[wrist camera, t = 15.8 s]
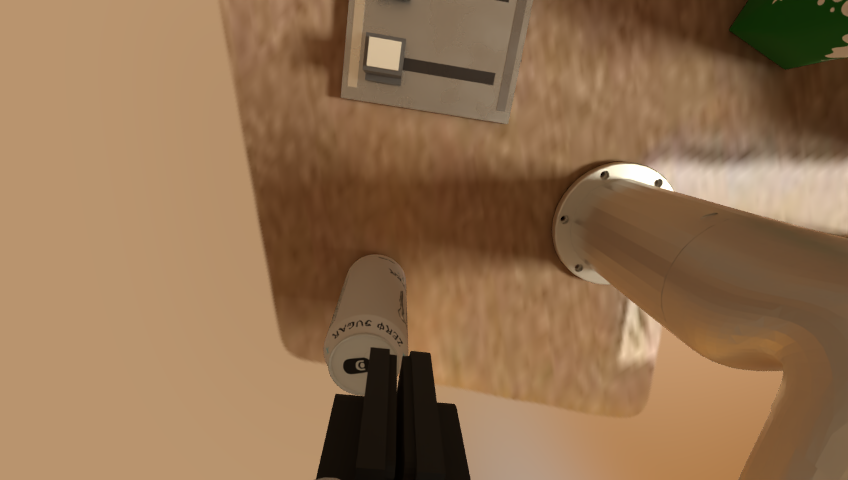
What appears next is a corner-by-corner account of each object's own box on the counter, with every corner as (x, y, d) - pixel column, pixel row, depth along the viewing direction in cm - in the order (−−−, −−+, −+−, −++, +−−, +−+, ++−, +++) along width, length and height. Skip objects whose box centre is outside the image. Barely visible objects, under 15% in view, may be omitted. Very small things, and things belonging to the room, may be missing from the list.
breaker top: (406, 40, 33) (407, 30, 30) (400, 85, 34) (400, 82, 31) (370, 33, 33) (366, 23, 29) (365, 80, 34) (361, 75, 30)
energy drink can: (408, 302, 42) (412, 397, 28) (351, 308, 42) (326, 407, 28) (402, 248, 41) (403, 321, 26) (343, 254, 40) (311, 331, 26)
